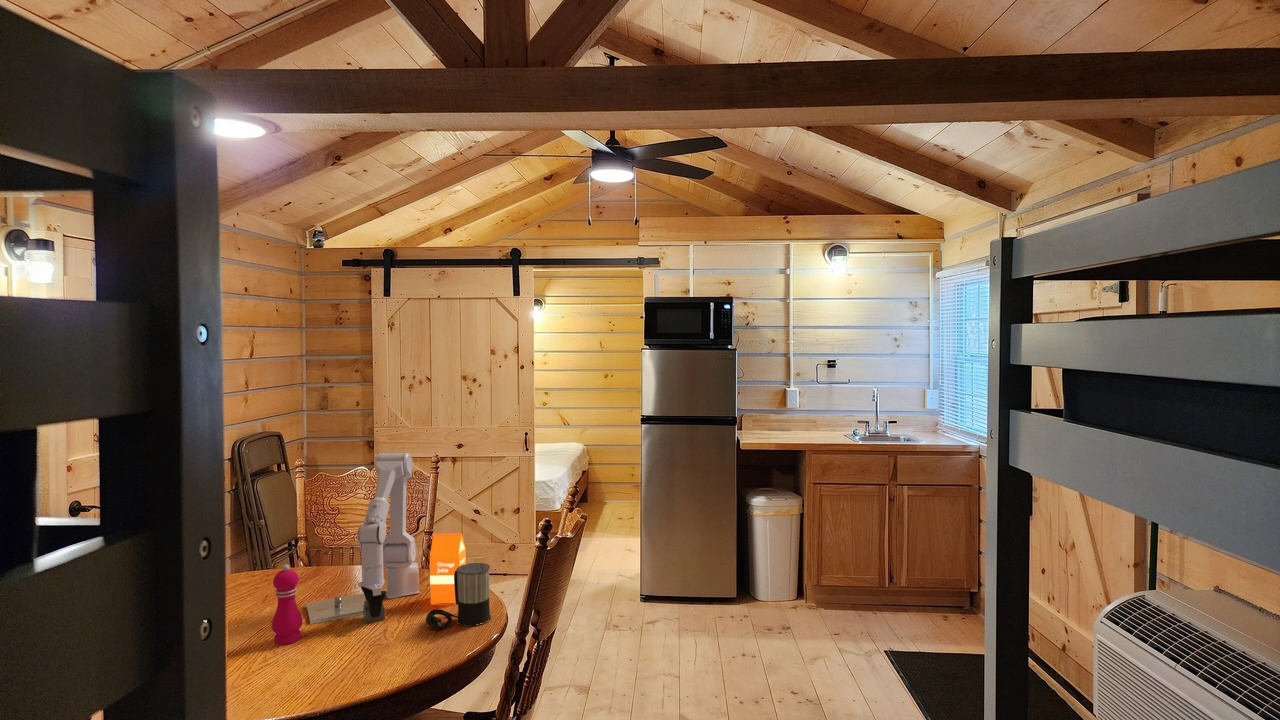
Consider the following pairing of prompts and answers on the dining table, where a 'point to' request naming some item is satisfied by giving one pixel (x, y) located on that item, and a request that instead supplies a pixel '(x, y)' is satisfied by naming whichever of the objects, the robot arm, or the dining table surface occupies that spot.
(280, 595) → the pepper mill
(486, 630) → the dining table surface
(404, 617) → the dining table surface
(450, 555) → the orange juice
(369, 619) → the knob
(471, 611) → the milk frother
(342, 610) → the flat square panel
